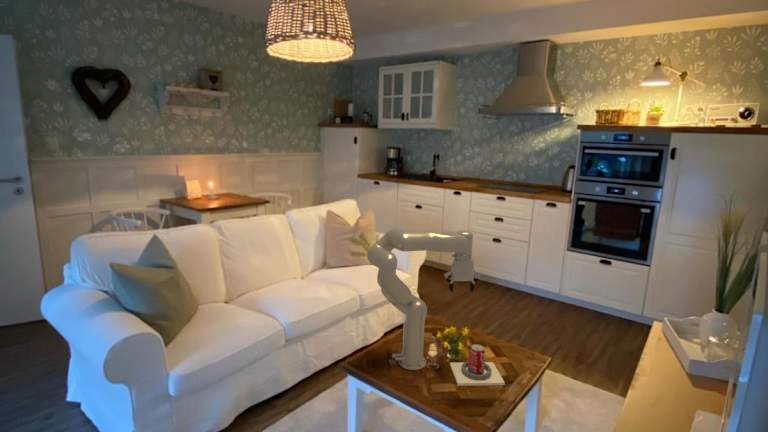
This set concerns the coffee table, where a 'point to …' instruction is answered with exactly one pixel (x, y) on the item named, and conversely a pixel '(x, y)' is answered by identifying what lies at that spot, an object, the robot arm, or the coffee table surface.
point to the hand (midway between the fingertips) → (461, 291)
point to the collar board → (476, 383)
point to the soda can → (476, 359)
